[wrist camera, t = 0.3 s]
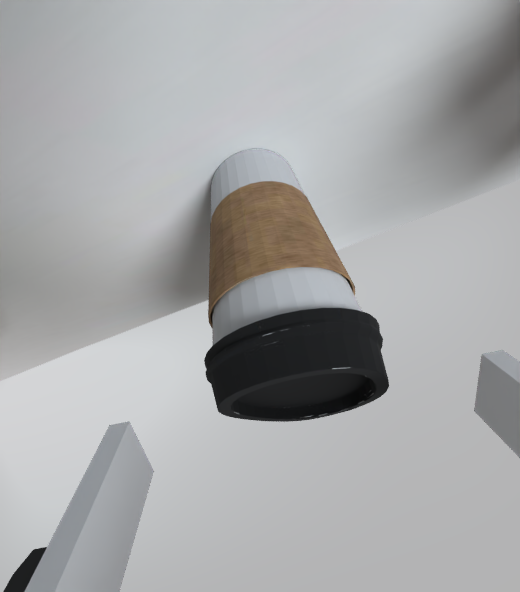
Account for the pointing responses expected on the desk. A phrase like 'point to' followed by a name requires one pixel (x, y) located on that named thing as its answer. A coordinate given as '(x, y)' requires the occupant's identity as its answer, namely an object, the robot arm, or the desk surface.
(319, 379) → the coffee cup
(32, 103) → the desk surface
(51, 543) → the robot arm
